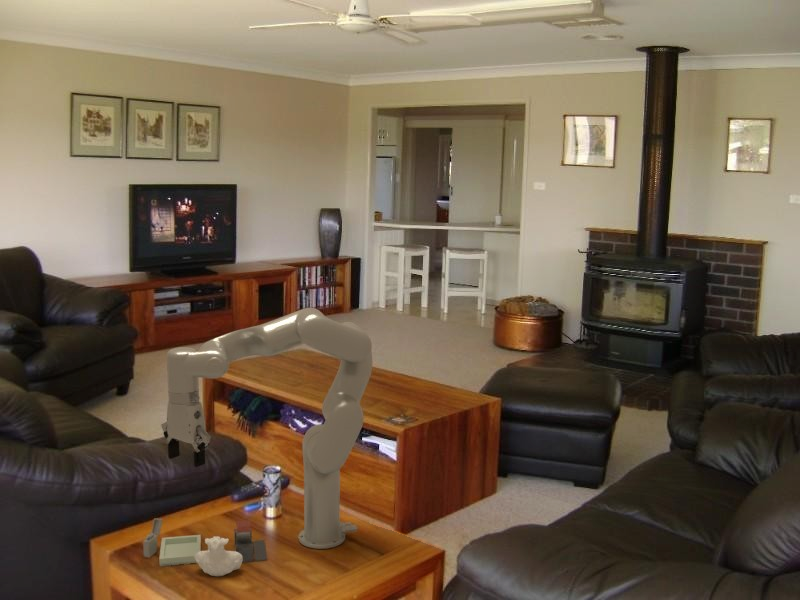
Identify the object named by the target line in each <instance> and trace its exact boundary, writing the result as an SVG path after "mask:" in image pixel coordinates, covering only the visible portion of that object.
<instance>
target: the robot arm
mask: <svg viewBox="0 0 800 600" xmlns="http://www.w3.org/2000/svg"><path fill="white" fill-rule="evenodd" d="M372 343H373V342H372V340H371V338H370V336H369V334H368V333H366V331H365V330H363V328H362V327H360V326H359V325H358V324H356V323H354V322H351V321H344V322H338V321H336V320H334V319H331V318H329V317H327V316H325V314H324V313H323V312H321V311H320V310H319V309H317V308H315V307H305V308H302V309H299V310H297V311H294V312H292V313H288V314H287V315H283V316H280V317H278V318H276V319H272V320H270V321H267V322H265V323H262V324H258V325H255V326H250V327H246V328H241V329H238V330H234V331H231V332H229V333H228V332H227V333H225V334H222V335H220V336H217V337H214V338H212V339H209V340H208V341H206V342H204V343H203V344H202V345H201V346H199V347H200V348H199V349H198V351H197V350H196V349H194V348H193V347H187V346H179V347H174V348H171V349H169V350H168V351H167V353H166V372H167V373H166V374H167V392H168V393H167V395H168V397H167V398H168V401H167V406H166V407H167V408H166V421H165V422H162V423H161V425H160V426H161V429H162V432H163V437H164V438H165V442H166V444H167V454H168V456H167V457H168V459H169V460H171V459H174V458H178V457H179V456H180V454H181V453H180V441H181V442H184V443H187V444H191V445H192V448H193V449H194V451H193V466H194V467H195V468H198V467H201V466H204V465H205V464H206V450H207V447H208V446H209V445H210V444H209V443H210V441H211V438H212V436H211V435H210V434H209V433H208V432H207V430H206V429H207V427H206V418H205V413H204V409H203V408H204V407H203V405H202V402H201V401H200V399H201V397H200V385H199V384H200V383H199V378H202V379H218V378H222V377H223V376H224V375H226V374H227V372H228V371H229V368H230V363H231V362H234V361H237V360H239V359H242V358H245V357H251V356H261V357H273V356H276V355H278V354H281V353H284V352H286V351H288V350H289V351H290V350H291V349H294V348H297V347H299V346H302V345H306V346H308V347H310V348H312V349H314V350H316V351H319V352H321V353H324V354H326V355H329V356H331V357H332V356H333V357H335V358H337V359H339V360H340V363H339V367H338V370H337V372H336V375H335V377H334V380H333V382H332V384H331V386H330V387H329V390H328V392H327V394H326V395H325V398H324V401H323V402H322V405H321V412H322V415H323V418H324V419H325V421H324V423H323V424H320V423H318V424H315V425H313V426H311V427H310V428H309V429H307V431H306V432H305V434H304V436H303V439H302V458H303V459H302V460H303V491H304V492H303V496H304V497H303V507H304V509H303V511H304V513H303V516H304V517H303V520H304V525H303V526H304V529H302V530H300V532H299V533H298V542H299V543H301V545H302V546H305V547H307V548H311V549H319V550H322V549H323V550H325V549H326V550H327V549H331V548H335V547H338V546H339V545H341V544H343V543H344V541H345V540H346V534H347V533H357V532H358V526H357V524H352V522H351V521H346V522H343V521H342V520H341V519H340V518H341V517H340V513H341V512H340V511H341V509H340V508H341V506H340V502H341V501H340V499H341V497H340V495H341V493H340V491H341V490H340V489H341V487H340V484H341V471H340V470H341V469H342V467H343V466H344V464H345V463H346V461H347V459H348V458H349V456H350V453H351V451H352V449H353V447H354V445H355V443H356V441H357V439H358V437H359V435H360V432H361V430H362V427H363V424H364V418H365V417H364V410H363V408H362V406H361V405H360V403H361V400H362V397H363V396H364V393H365V391H366V388H367V385H368V383H369V381H370V377H371V376H372V375H371V374H372V371H373V370H372V369H373V352H372V348H373V345H372ZM198 444H199V445H198Z"/></svg>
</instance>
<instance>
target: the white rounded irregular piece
mask: <svg viewBox="0 0 800 600" xmlns="http://www.w3.org/2000/svg"><path fill="white" fill-rule="evenodd" d="M229 541H230V540H229V538H224V537H220V536H215V535H214V536H213V537H211V538H207V537H206V538H205V539H204V543H205V544H206V545H207V550H201V551H200V552H198V553H196V554H195V556H194V558H195V560H196V562H197V563H196V564H198V566H199V568H200V569H201V570H202V571H203V572H204V573H205V574H207V575H209V576H211V577H223V576H225V575H228V574H230V573H232V572H233V571H236V570H238V569H240V568H241V566H242V564H243V562H242V561H243V557H242V555H241V554H240V553H238V552H236V551H235V550H226V549H225V546H226V545H227V544H228V543H229Z"/></svg>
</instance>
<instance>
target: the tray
mask: <svg viewBox="0 0 800 600" xmlns="http://www.w3.org/2000/svg"><path fill="white" fill-rule="evenodd" d="M201 537H202V535H201V534H194V535H181V536H180V535H179V536H169V537H161V543H160V549H159V550H160V551H159V558H158V559H159V560H158V561H159V567H169V566H171V565H172V566H180V565H179V564H184V565H191V564H190V563H196V564H198V563H197V562H196V560H195V558H194V556H195V554H196V553H198V552H200V551H202V550H201V549H202V538H201ZM172 566H171V567H172Z"/></svg>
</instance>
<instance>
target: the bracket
mask: <svg viewBox="0 0 800 600" xmlns="http://www.w3.org/2000/svg"><path fill="white" fill-rule="evenodd" d="M233 532H234V547H235V548H234V551H236V552H238V553H240V554H241V555H242V557H243V561H242V563H252V562H253V563H254V561H255V562H261V561H268V556H267V549H266V547H267V546H266V542H265V539H258V540H253V539H252V537H253V536H252V528H251V527H250V536H251V544H239V545H237V537H236V528H235V529H234V531H233Z"/></svg>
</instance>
